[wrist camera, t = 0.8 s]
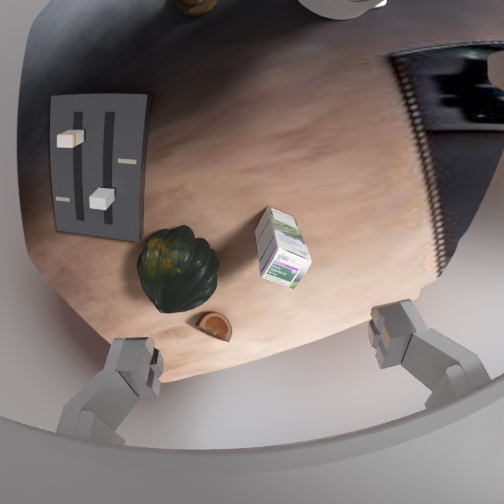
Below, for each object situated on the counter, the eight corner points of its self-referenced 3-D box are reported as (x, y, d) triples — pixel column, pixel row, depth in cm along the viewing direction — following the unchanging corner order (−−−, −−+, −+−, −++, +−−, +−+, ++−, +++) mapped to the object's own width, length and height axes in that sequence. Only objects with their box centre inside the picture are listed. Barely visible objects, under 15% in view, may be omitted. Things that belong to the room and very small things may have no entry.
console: (60, 94, 38) (50, 96, 35) (152, 93, 40) (147, 94, 37) (63, 223, 51) (56, 231, 49) (143, 233, 54) (138, 242, 51)
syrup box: (253, 230, 55) (258, 280, 43) (268, 203, 52) (278, 248, 40) (281, 241, 56) (293, 291, 44) (296, 215, 53) (314, 261, 41)
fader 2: (98, 187, 45) (89, 196, 41) (114, 189, 45) (105, 198, 42) (99, 198, 46) (89, 208, 42) (114, 200, 46) (105, 210, 43)
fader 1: (69, 129, 38) (56, 134, 35) (84, 129, 39) (72, 134, 36) (68, 141, 40) (56, 147, 36) (83, 141, 40) (72, 148, 37)
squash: (223, 222, 47) (150, 277, 39) (241, 290, 56) (184, 344, 47) (171, 208, 56) (108, 250, 47) (192, 268, 64) (140, 310, 56)
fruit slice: (237, 319, 67) (237, 336, 63) (219, 334, 70) (218, 350, 65) (208, 301, 64) (207, 318, 60) (190, 317, 66) (188, 333, 62)
